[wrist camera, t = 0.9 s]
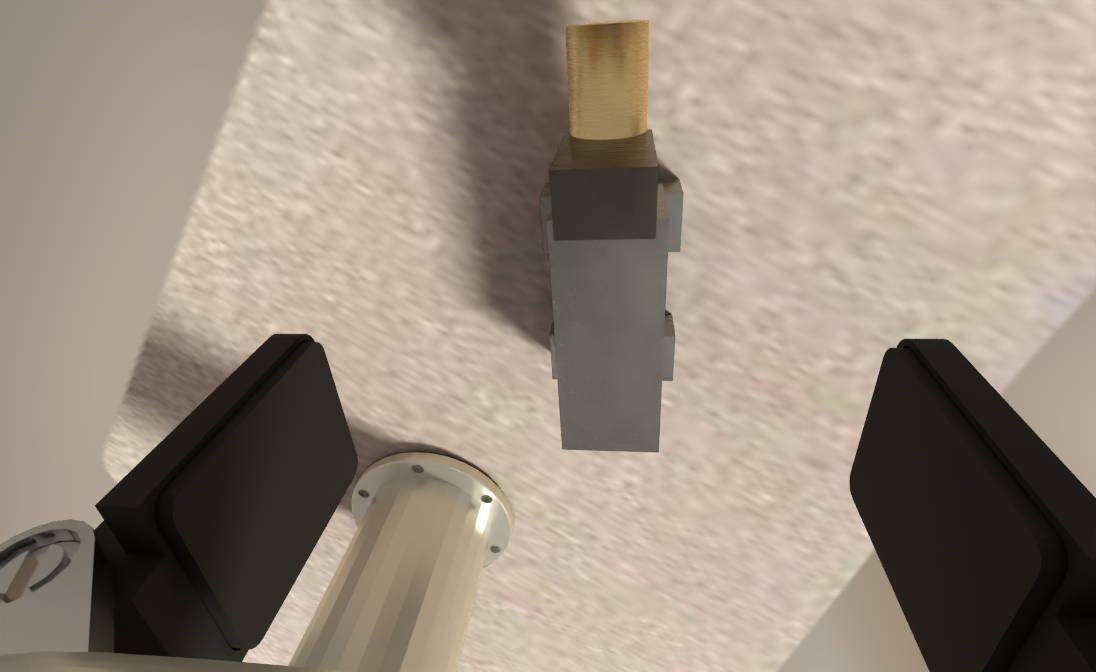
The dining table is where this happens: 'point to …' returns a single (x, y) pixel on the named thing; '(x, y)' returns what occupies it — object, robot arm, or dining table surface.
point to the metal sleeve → (612, 330)
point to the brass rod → (606, 137)
